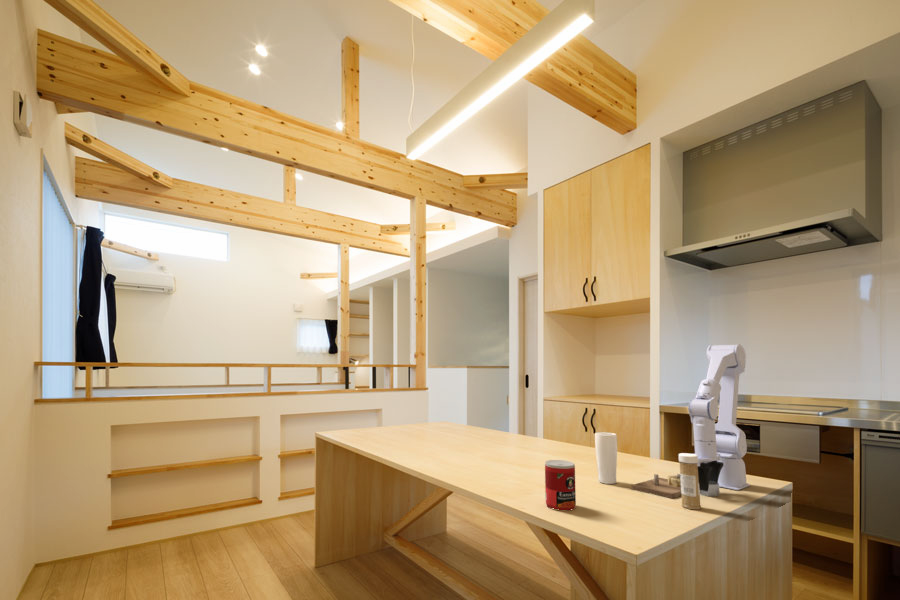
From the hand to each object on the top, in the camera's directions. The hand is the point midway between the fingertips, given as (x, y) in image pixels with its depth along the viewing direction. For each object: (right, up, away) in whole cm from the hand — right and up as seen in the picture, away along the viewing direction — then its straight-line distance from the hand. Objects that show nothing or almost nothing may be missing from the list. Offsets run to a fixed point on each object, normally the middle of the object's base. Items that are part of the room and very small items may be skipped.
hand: (708, 488), depth 134 cm
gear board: (-10, -2, +4) cm, 11 cm away
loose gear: (0, -1, 0) cm, 1 cm away
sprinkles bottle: (-12, 0, -13) cm, 18 cm away
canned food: (-46, +1, -13) cm, 48 cm away
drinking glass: (-25, -3, +12) cm, 28 cm away
